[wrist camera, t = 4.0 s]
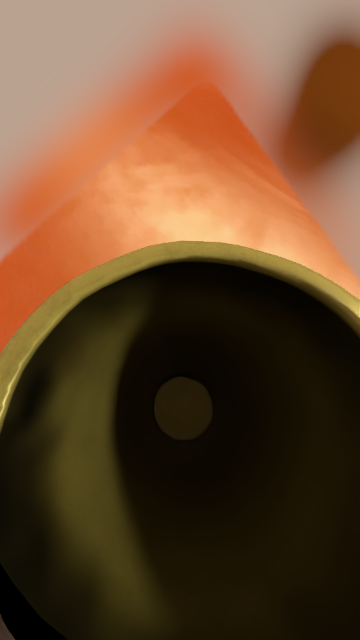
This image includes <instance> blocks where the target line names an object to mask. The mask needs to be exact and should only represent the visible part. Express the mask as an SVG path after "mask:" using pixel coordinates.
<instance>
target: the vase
mask: <svg viewBox="0 0 360 640" xmlns="http://www.w3.org/2000/svg"><path fill="white" fill-rule="evenodd" d="M0 615H1V617H2V620H3V622H4V624H5V625H6V627H7V629H8V631H9V632H10V633H11V634H12V636H13V637H14V639H15V640H360V300H359V299H358V298H356V297H355V296H353V295H352V294H351V293H349V292H348V291H346V290H345V289H344V288H342V287H341V286H339V285H338V284H336V283H334V282H332V281H331V280H329V279H327V278H326V277H324V276H322V275H321V274H319V273H317V272H315V271H313V270H311V269H309V268H307V267H305V266H303V265H301V264H298V263H295V262H293V261H290V260H287V259H284V258H282V257H279V256H275V255H272V254H268V253H265V252H262V251H258V250H254V249H251V248H247V247H243V246H239V245H233V244H227V243H221V242H202V241H177V242H170V243H162V244H157V245H152V246H147V247H144V248H141V249H138V250H136V251H133V252H130V253H128V254H125V255H123V256H120V257H118V258H116V259H113V260H111V261H109V262H106V263H104V264H102V265H99V266H97V267H95V268H93V269H90V270H89V271H87V272H85V273H83V274H82V275H80V276H78V277H76V278H75V279H73V280H71V281H69V282H68V283H66V284H65V285H64V286H63V287H61V288H60V289H59V290H58V291H56V292H55V293H54V294H53V295H51V296H50V297H49V298H48V299H47V300H46V301H45V302H44V303H43V304H42V305H41V306H40V307H39V308H38V309H37V310H35V311H34V312H33V313H32V314H31V315H30V317H29V318H28V319H27V320H26V321H25V322H24V324H23V325H22V326H21V327H20V328H19V329H18V331H17V332H16V333H15V334H14V335H13V336H12V338H11V339H10V340H9V342H8V343H7V345H6V346H5V348H4V349H3V350H2V352H1V353H0Z"/></svg>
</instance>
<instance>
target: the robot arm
mask: <svg viewBox="0 0 360 640" xmlns="http://www.w3.org/2000/svg"><path fill="white" fill-rule="evenodd" d="M0 640H15V639H14V637H13V636H12V634H11V633H10V632H9V631H8V629H7V627H6V625H5V624H4V622H3V620H2V617H1V615H0Z"/></svg>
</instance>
